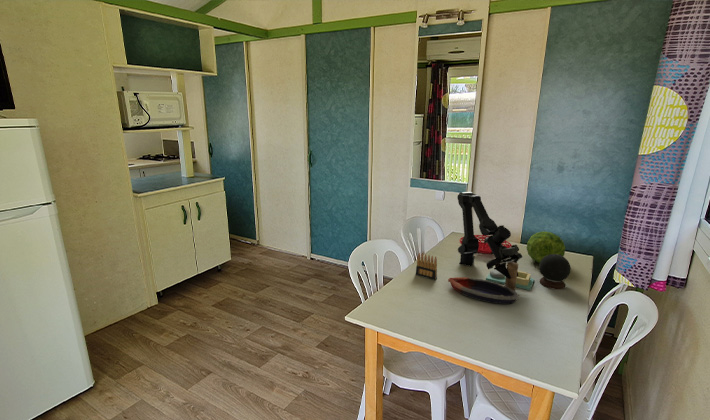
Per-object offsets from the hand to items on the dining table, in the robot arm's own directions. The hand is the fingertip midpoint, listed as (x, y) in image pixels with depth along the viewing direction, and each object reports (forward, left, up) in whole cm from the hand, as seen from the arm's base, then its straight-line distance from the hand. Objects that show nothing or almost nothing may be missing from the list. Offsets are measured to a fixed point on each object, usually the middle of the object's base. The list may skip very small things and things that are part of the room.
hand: (513, 277), depth 170 cm
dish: (-11, -11, -7) cm, 17 cm away
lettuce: (+8, +47, -7) cm, 48 cm away
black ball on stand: (+15, +19, -7) cm, 25 cm away
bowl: (-24, +47, -7) cm, 53 cm away
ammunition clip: (-39, -7, -7) cm, 41 cm away
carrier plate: (-3, +12, -7) cm, 14 cm away
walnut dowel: (-1, +1, -7) cm, 7 cm away
